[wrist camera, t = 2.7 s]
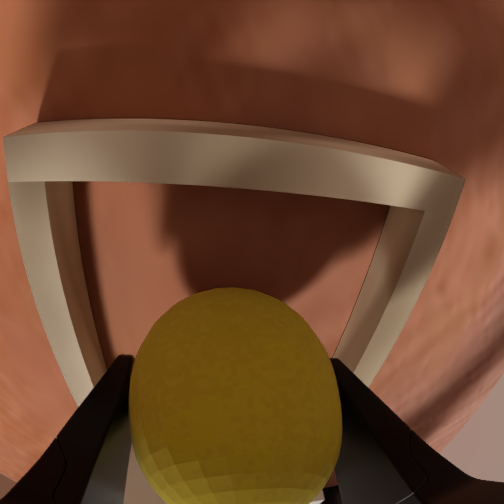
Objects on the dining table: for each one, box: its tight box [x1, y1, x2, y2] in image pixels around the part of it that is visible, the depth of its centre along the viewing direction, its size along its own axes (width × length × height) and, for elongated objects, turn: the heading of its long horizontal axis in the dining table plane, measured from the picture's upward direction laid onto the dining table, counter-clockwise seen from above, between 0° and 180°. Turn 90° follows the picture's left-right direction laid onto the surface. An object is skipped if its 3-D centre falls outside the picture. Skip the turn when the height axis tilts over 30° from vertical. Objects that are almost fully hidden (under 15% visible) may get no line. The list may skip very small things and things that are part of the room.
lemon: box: [128, 287, 342, 504], centre depth 8 cm, size 6×6×8 cm
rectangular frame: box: [4, 119, 465, 407], centre depth 11 cm, size 12×12×2 cm
